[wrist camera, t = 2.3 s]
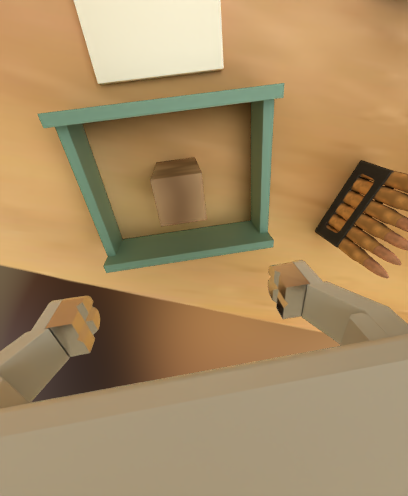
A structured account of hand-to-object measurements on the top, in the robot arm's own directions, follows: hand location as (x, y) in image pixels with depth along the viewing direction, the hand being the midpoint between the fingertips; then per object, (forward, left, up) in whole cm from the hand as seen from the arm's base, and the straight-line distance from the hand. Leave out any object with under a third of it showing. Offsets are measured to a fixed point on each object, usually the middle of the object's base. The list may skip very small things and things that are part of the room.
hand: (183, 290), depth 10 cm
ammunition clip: (-22, +6, -20) cm, 31 cm away
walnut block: (0, 0, -20) cm, 20 cm away
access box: (0, 0, -20) cm, 20 cm away
